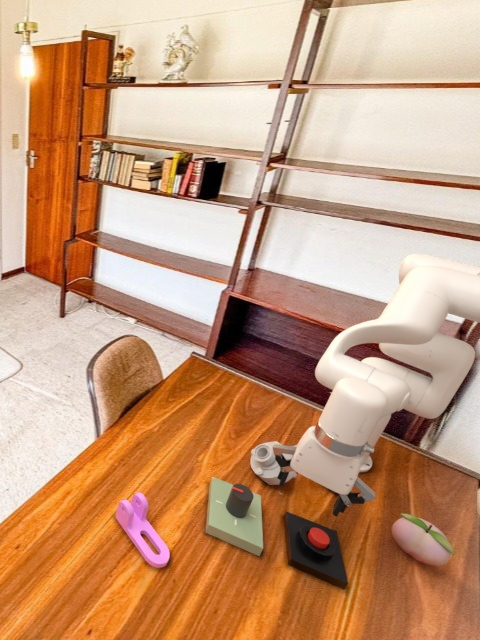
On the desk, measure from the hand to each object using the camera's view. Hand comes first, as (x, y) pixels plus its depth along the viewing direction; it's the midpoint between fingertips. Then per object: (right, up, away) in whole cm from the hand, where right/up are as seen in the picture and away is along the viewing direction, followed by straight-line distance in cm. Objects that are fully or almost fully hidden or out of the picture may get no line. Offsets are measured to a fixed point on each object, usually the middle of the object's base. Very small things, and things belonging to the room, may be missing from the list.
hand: (307, 496), depth 83 cm
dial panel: (-10, -11, +11) cm, 18 cm away
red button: (+4, -11, +3) cm, 12 cm away
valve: (+11, -7, +21) cm, 24 cm away
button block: (+4, -15, +4) cm, 16 cm away
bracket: (-33, -13, +6) cm, 36 cm away
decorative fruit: (+26, -15, +5) cm, 31 cm away
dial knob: (-10, -8, +9) cm, 16 cm away
